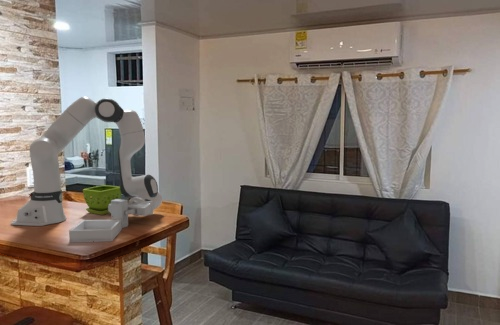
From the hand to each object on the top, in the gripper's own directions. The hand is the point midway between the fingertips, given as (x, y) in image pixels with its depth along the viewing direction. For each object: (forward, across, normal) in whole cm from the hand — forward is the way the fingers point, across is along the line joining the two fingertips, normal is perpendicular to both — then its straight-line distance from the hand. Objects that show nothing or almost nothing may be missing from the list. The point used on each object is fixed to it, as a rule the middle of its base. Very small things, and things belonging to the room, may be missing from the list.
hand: (118, 212), depth 175 cm
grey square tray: (+14, 0, +7) cm, 15 cm away
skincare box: (-1, 0, +7) cm, 7 cm away
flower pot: (-20, -26, +7) cm, 33 cm away
